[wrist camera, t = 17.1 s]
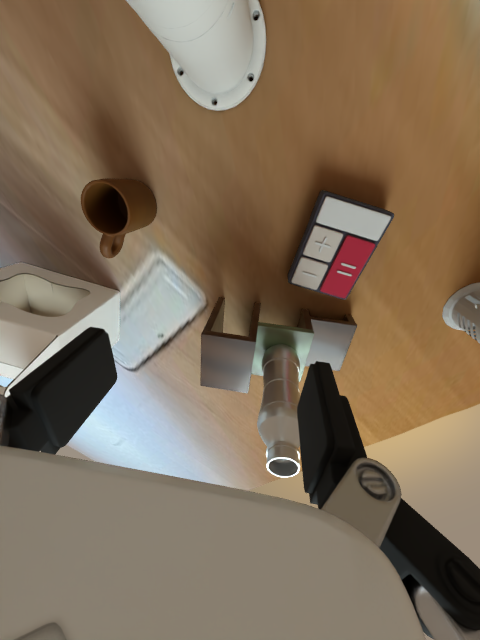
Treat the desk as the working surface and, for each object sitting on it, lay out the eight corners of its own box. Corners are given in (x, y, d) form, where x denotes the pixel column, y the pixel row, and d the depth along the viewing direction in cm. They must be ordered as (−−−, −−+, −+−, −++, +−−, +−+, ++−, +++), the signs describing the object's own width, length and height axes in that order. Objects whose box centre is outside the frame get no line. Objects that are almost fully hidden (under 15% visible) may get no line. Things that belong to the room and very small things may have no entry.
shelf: (219, 296, 50) (201, 333, 38) (351, 315, 48) (377, 360, 36) (216, 341, 55) (200, 385, 43) (335, 358, 54) (353, 410, 42)
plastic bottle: (301, 341, 42) (320, 453, 25) (294, 371, 45) (306, 488, 28) (264, 337, 42) (256, 443, 25) (260, 367, 46) (251, 479, 29)
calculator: (287, 284, 43) (325, 191, 35) (286, 275, 46) (320, 189, 38) (346, 302, 43) (398, 214, 35) (341, 292, 47) (387, 210, 38)
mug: (149, 255, 47) (123, 271, 39) (111, 239, 47) (77, 251, 39) (162, 190, 41) (134, 192, 33) (119, 171, 41) (80, 168, 33)
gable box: (30, 313, 58) (-145, 407, 34) (19, 261, 51) (-208, 331, 27) (121, 340, 59) (12, 451, 34) (121, 291, 52) (-12, 386, 28)
